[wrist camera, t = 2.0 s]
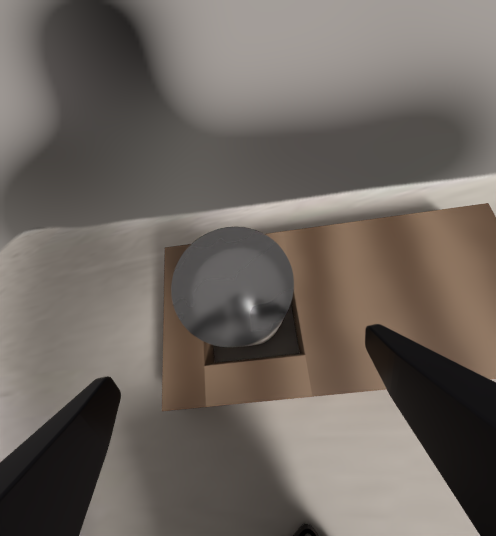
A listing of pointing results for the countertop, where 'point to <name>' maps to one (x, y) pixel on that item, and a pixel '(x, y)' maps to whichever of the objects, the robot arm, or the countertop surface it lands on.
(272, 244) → the silver cylindrical piece
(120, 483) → the countertop surface
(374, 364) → the robot arm
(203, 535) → the countertop surface
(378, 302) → the plate
